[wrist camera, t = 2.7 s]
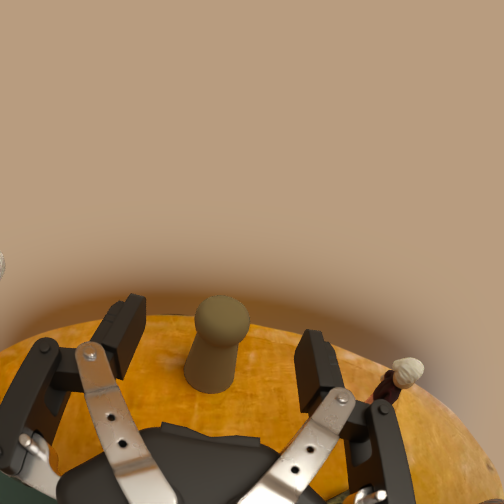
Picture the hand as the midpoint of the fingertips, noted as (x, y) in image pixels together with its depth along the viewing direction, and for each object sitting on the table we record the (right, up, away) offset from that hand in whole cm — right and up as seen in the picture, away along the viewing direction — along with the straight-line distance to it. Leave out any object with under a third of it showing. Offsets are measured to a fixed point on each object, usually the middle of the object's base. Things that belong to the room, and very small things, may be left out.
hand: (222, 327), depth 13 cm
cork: (-4, -11, +17) cm, 20 cm away
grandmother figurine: (+14, -17, +14) cm, 27 cm away
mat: (-17, -22, -8) cm, 29 cm away
